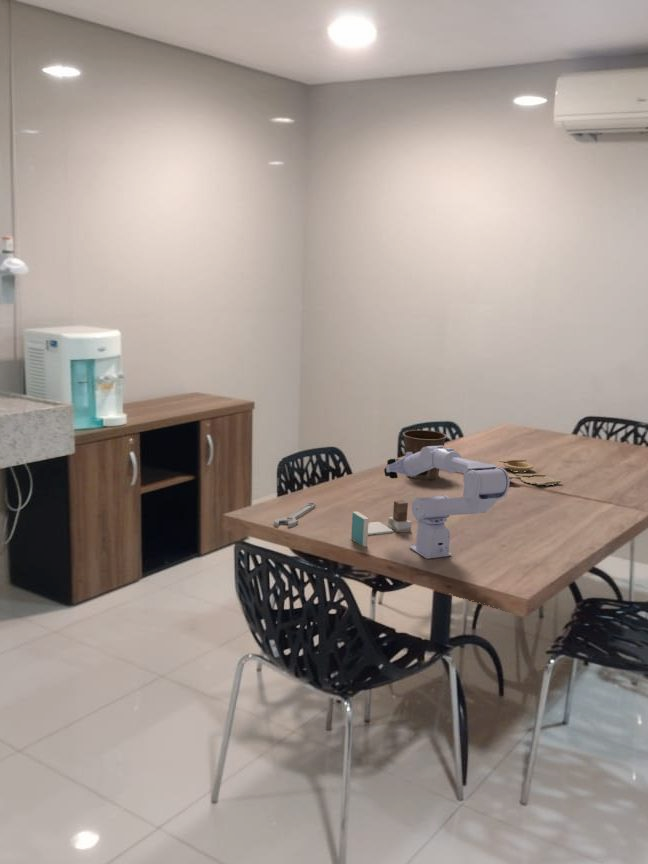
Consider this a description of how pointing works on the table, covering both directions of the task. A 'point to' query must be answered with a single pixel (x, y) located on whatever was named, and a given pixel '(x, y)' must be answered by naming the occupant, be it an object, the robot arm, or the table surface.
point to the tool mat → (378, 528)
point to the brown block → (399, 517)
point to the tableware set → (523, 466)
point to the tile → (360, 528)
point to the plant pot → (421, 439)
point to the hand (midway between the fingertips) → (397, 471)
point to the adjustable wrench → (294, 516)
